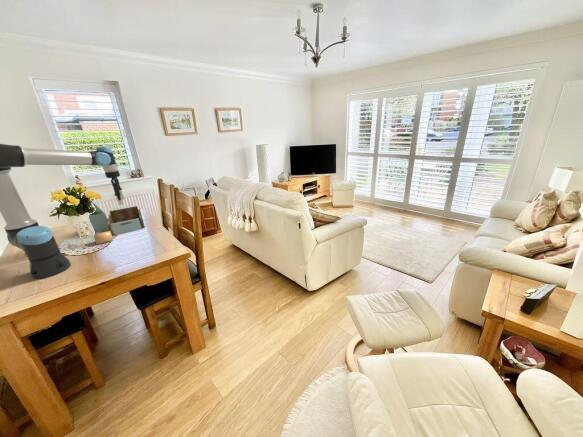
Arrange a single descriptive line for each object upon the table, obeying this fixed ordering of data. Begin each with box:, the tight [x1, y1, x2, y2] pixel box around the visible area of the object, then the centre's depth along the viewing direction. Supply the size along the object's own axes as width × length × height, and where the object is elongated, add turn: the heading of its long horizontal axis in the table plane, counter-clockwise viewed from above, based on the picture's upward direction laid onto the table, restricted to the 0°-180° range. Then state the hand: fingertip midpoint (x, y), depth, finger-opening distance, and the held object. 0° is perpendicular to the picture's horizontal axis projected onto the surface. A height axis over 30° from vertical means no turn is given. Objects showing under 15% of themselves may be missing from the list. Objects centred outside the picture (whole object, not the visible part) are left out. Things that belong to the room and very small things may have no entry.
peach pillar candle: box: [93, 230, 114, 245], centre depth 152 cm, size 8×7×7 cm
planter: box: [88, 203, 109, 232], centre depth 168 cm, size 16×8×20 cm, turn 58°
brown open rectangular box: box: [107, 205, 146, 236], centre depth 172 cm, size 20×22×12 cm
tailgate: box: [111, 218, 143, 236], centre depth 163 cm, size 16×1×8 cm, turn 124°
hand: (121, 202), depth 162 cm, fingers open, 13 cm apart
